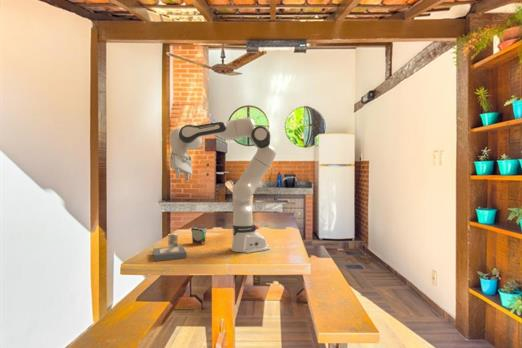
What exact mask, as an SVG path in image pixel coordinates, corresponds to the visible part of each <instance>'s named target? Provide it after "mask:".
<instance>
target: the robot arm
mask: <svg viewBox="0 0 522 348" xmlns="http://www.w3.org/2000/svg"><path fill="white" fill-rule="evenodd" d="M212 135H213V136H214V135H216V136H219V137H222V138H224V139H225V140H227V141H232V140H233V141H234V140H237V139H242V138H245V137H247V138H249V139H250V141H251V143H252V145H254V147H256V148H257V150H256V152H255V154H254V155H253V156H252V158H251V160H250V162H249V163H248V164H247V166H246V167H245V169H244V171H243V172H242V174H241V176H240V177H239V179H238V180H237V182H236V183H235V184H234V185H233V187H232V216H233V217H232V219H233V222H232V223H233V224H232V242H231V243H232V244H231V247H230V250H231V252H237V253H245V254H250V253H256V252H261V251H268V250H271V246H270V245H269V244H268V243H267V241H266V238H265V237H264V235H262V234H261V233H260V232H258V231H257V230H258V229H259V228H260V227H259V226H258V225H255V224H253V202H252V201H253V200H252V196H253V195H254V193H255V192H256V190H257V188H258V187H259V185H260V183H261V181H262V180H263V178H264V176H265V175H266V174H267V172H268V170H269V169H270V167H271V165H272V164H273V162H274V160H275V158H276V154H277V151H276V149H275V148H274V147H273V146H272V145H271V132H270V130H269V128H268V127H266V126H264V125H257V126H256V123H255V121H254V119H252V118H251V117H242V118H236V119H232V120H228V121H227V120H226V121H220V122H219V121H218V122H217V121H216V122H210V123H209V122H208V123H203V124H199V125H194V124H193V125H192V124H185V125H184V126H182V127H181V128H175V129H173V130H171V132H170V133H169V145H170V148H171V152H170V154H169V155H170V156H169V166H170V168H171V169H172V170H174V172H175V175H176V178H177V179H179V178H182V174H183V175H184V176H185V178H184V180H185V182H189V181H190V176H191V175H193V172H194V171H193V164H192V161H193V160H192V157H191V156H190V155H189V152H188V150H189V151H191V150H197V149H199V148H200V147H201V146H202V144H203V139H202V138H203V137H206V136H212Z"/></svg>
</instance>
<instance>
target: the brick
mask: <svg viewBox="0 0 522 348" xmlns="http://www.w3.org/2000/svg"><path fill="white" fill-rule="evenodd" d="M178 238H179V237H178V233H177V232H176V233H175V232H174V233H168V234H167V244H168V245H167V247H176V246H179V244H178V243H179V242H178V241H179V240H178Z"/></svg>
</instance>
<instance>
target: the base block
mask: <svg viewBox="0 0 522 348" xmlns="http://www.w3.org/2000/svg"><path fill="white" fill-rule="evenodd" d="M152 251H153V260H154V262H161V261H169V260H179V259H186V258H187V251H186V250H185V247H184V246H183V245H178V246H176V247H168V246H167V247H157V248H156V247H155V248H153V250H152Z"/></svg>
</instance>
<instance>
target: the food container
mask: <svg viewBox="0 0 522 348" xmlns="http://www.w3.org/2000/svg"><path fill="white" fill-rule="evenodd" d="M207 229H208V228H207V227H205V226H191V228H190V231H191V239H192V244H193V245H198V246H205V245H206V235H207V232H208V230H207Z"/></svg>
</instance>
